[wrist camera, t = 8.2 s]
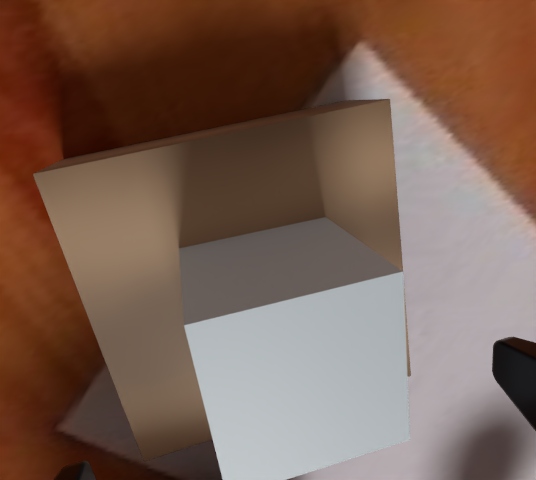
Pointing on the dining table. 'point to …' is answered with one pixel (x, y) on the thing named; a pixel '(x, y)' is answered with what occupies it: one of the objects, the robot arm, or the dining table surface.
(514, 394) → the robot arm
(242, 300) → the grey cube
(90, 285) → the brown boxy piece
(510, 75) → the dining table surface
